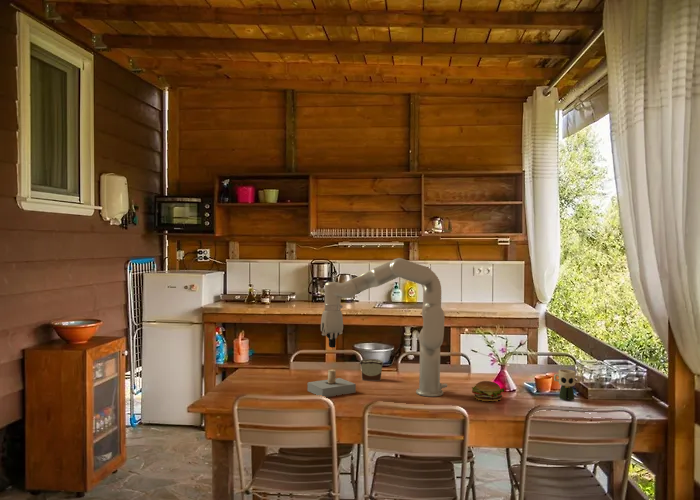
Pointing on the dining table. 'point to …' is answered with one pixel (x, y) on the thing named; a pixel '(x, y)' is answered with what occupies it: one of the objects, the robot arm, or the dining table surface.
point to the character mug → (566, 383)
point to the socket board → (331, 387)
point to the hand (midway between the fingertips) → (332, 347)
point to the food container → (371, 369)
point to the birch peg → (331, 377)
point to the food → (487, 391)
